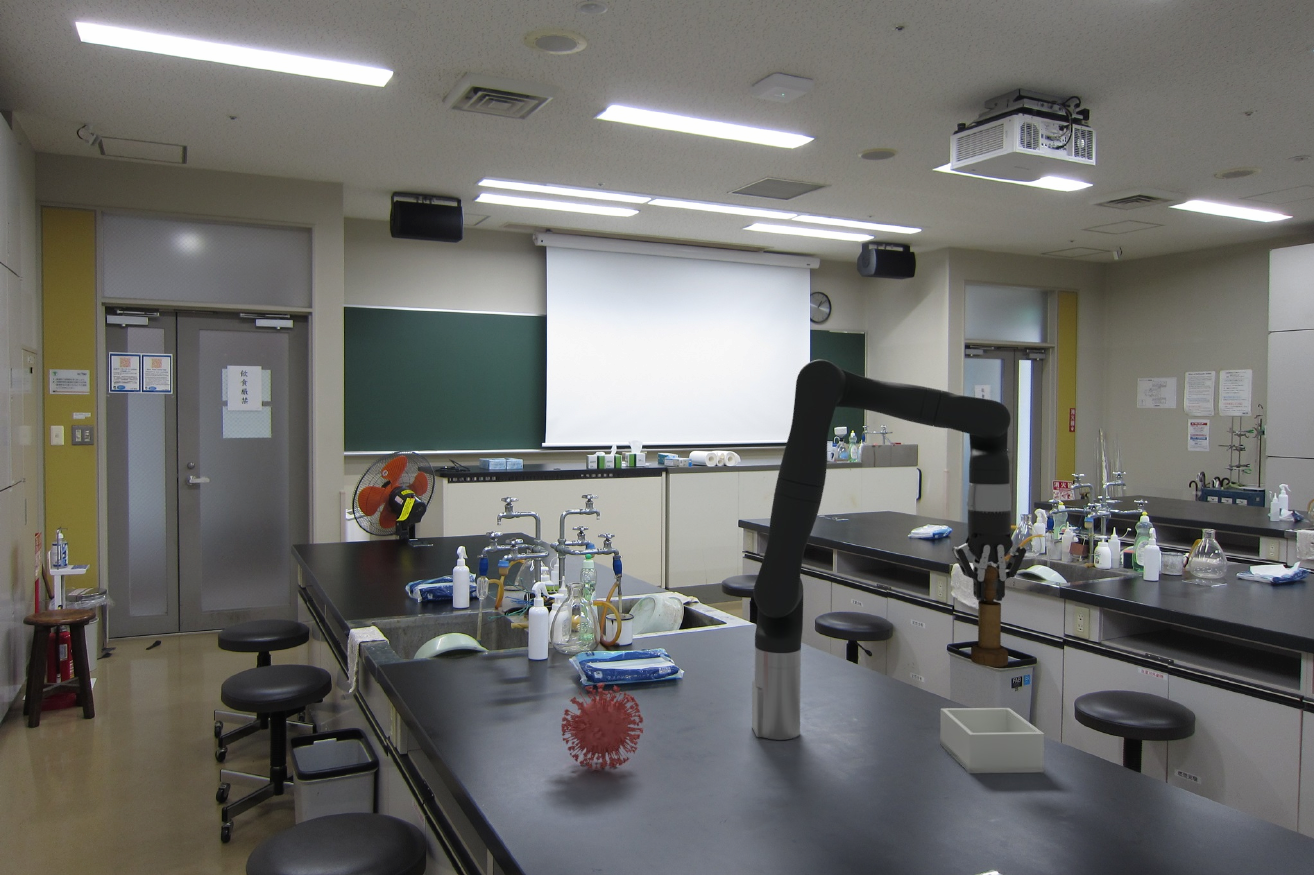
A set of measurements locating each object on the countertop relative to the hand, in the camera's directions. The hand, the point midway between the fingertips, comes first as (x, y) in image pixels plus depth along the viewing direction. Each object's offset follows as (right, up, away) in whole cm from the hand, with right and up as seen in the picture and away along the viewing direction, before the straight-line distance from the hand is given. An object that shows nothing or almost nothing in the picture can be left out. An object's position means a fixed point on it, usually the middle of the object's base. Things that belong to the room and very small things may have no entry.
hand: (989, 599), depth 159 cm
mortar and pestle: (0, -12, 0) cm, 12 cm away
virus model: (-72, -30, -5) cm, 78 cm away
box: (0, -30, +1) cm, 30 cm away
